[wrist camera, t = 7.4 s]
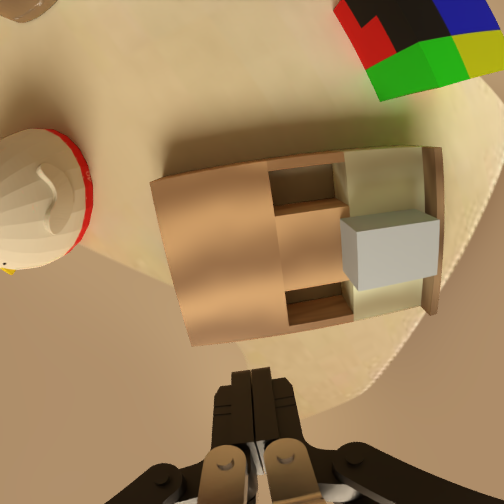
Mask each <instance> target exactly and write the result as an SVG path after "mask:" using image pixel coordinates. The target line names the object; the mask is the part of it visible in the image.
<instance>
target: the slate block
mask: <svg viewBox="0 0 504 504" xmlns="http://www.w3.org/2000/svg"><path fill="white" fill-rule="evenodd" d="M340 229H341V244H342V262H343V272H344V273H345V274H346V276H347V277H348V278H349V280H350V281H351V282H352V284H353V285H354V286H355V288H356V289H357V290H358V291H364V290H369V289H374V288H379V287H384V286H389V285H393V284H398V283H403V282H407V281H412V280H417V279H421V278H426V277H430V276H434V275H437V268H438V254H439V231H440V220H439V219H437V218H435V217H433V216H430V215H428V214H426V213H424V212H421V211H419V210H417V209H408V210H400V211H392V212H385V213H377V214H370V215H362V216H355V217H348V218H341V219H340Z"/></svg>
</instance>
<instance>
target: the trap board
mask: <svg viewBox="0 0 504 504" xmlns="http://www.w3.org/2000/svg"><path fill="white" fill-rule="evenodd" d="M331 163H332V171H333V180H334V190H335V198H329V199H321V200H314V201H307V202H300V203H293V204H286V205H279V206H273V201H272V194H271V187H270V181H269V174H268V171H275V170H282V169H289V168H297V167H305V166H313V165H322V164H331ZM150 186H151V191H152V196H153V201H154V205H155V210H156V215H157V219H158V223H159V228H160V232H161V236H162V240H163V245H164V249H165V253H166V257H167V261H168V265H169V269H170V272H171V276H172V280H173V284H174V287H175V291H176V295H177V298H178V302H179V305H180V309H181V312H182V316H183V319H184V323H185V326H186V329H187V332H188V336H189V339H190V342H191V346H192V347H193V346H203V345H212V344H221V343H229V342H236V341H244V340H251V339H258V338H265V337H271V336H278V335H284V334H290V333H296V332H302V331H308V330H313V329H319V328H324V327H329V326H334V325H339V324H344V323H349V322H354V321H359V320H363V319H368V318H372V317H377V316H381V315H386V314H390V313H394V312H398V311H402V310H406V309H410V308H414V307H418V306H421V307H422V308H423V309H424V310H425V311H426V312H427V313H428V314H429V315H430V316H431V315H434V314H436V313H437V309H438V301H439V293H440V283H441V273H442V260H443V242H444V175H443V157H442V148H440V147H428V146H412V145H401V146H383V147H368V148H355V149H343V150H333V151H323V152H314V153H305V154H296V155H289V156H281V157H274V158H266V159H260V160H253V161H247V162H240V163H234V164H228V165H222V166H217V167H211V168H206V169H200V170H195V171H190V172H185V173H180V174H175V175H170V176H166V177H162V178H159V179H157V180H154V181H152V182H150ZM408 209H417V210H419V211H421V212H424V213H426V214H428V215H430V216H433V217H435V218H437V219H439V220H440V231H439V254H438V268H437V275H434V276H430V277H426V278H421V279H417V280H412V281H407V282H403V283H398V284H393V285H389V286H384V287H379V288H374V289H369V290H364V291H358V290H357V289H356V288H355V286H354V285H353V284H352V282H351V281H350V280H349V278H348V277H347V276H346V274H345V273H344V272H343V262H342V244H341V229H340V219H341V218H348V217H355V216H362V215H370V214H377V213H385V212H392V211H400V210H408ZM337 282H341V289H342V295H338V296H332V297H327V298H321V299H316V300H310V301H304V302H298V303H292V304H286V298H285V291H290V290H296V289H302V288H308V287H314V286H320V285H326V284H331V283H337Z"/></svg>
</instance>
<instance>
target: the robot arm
mask: <svg viewBox="0 0 504 504" xmlns="http://www.w3.org/2000/svg"><path fill="white" fill-rule="evenodd" d="M56 1H57V0H0V16H3V17H5V18H8V19H10V20H13V21H16V22H18V23H24V22H28V21H31V20H33V19H35V18H37V17H38V16H40V15H41V14H43V13H44V12H45V11H47V10H48V9H49V8H50V7H51V6H52V5H53V4H54V3H55V2H56ZM251 372H252V374H251ZM231 377H232V378H231V380H232V381H231V385H228V386H220V388H219V389H218V391H217V393H216V394H215V396H214V411H213V416H214V417H213V427H212V444H211V450H210V451H209V452H208V454H207V455H206V456H205V458H204V460H203V461H201V462H199V463H197V464H195V465H192V466H188V467H185V468H181V469H178V468H177V467H176V466H174V465H171V464H167V463H161V464H157V465H154V466H152V467H150V468H149V469H148V470H147V471H146V472H144V473H143V474H142V475H140V476H139V477H138V478H137V479H136V480H134V481H133V482H132V483H131V484H129V485H128V486H127V487H126V488H124V489H123V490H122V491H121V492H120V493H118V494H117V495H115V496H114V497H113V498H112V499H110V500H109V501H108V502H106V503H105V504H258V481H257V475H263V474H264V472H263V467H264V471H265V474H267V478H268V484H269V489H270V494H271V499H272V504H326V501H330V502H333V503H334V504H504V500H501V499H498V498H494V497H491V496H488V495H485V494H482V493H479V492H477V491H473V490H471V489H468V488H465V487H462V486H460V485H457V484H455V483H452V482H450V481H447V480H445V479H442V478H439V477H437V476H435V475H432V474H430V473H428V472H425V471H423V470H421V469H418V468H416V467H414V466H412V465H409V464H407V463H405V462H403V461H401V460H399V459H397V458H394V457H392V456H390V455H388V454H386V453H384V452H382V451H380V450H378V449H375V448H374V447H372V446H370V445H368V444H366V443H362V442H351V443H347V444H345V445H343V446H341V447H340V448H339V449H338V450H323V449H317V448H315V447H312V446H311V445H309V444H308V443H307V442H306V441H305V439H304V437H303V434H302V429H301V425H300V420H299V415H298V410H297V406H296V401H295V396H294V391H293V387H292V385H291V383H290V382H289V381H288V380H287V379H286V378H285V377H284V378H278V379H272V377H271V371H270V367H266V368H259V369H252V370H251V371H250V370H245V371H238V372H232V375H231Z"/></svg>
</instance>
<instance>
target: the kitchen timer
mask: <svg viewBox="0 0 504 504" xmlns="http://www.w3.org/2000/svg"><path fill="white" fill-rule="evenodd" d="M92 208H93V184H92V180H91V176H90V172H89V168H88V165H87V163H86V161H85V159H84V157H83V155H82V153H81V151H80V149H79V148H78V147H77V146H76V145H75V144H74V143H73V142H72V141H71V140H70V139H69V138H68V137H67V136H66V135H64V134H62V133H60V132H58V131H56V130H54V129H26V130H23V131H20V132H17V133H14V134H12V135H9V136H7V137H5V138H3V139H1V140H0V269H2V270H3V271H5V272H7V273H8V274H10V275H12V274H13V273H14V272H15V271H16V270H18V269H28V268H35V267H40V266H44V265H46V264H49V263H51V262H53V261H55V260H57V259H59V258H61V257H63V256H64V255H66V254H67V253H69V252H70V251H71V250H72V249H73V248H74V247H75V246H76V245H77V244H78V243H79V242H80V241H81V239H82V237H83V235H84V233H85V231H86V229H87V227H88V225H89V222H90V217H91V213H92Z"/></svg>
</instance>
